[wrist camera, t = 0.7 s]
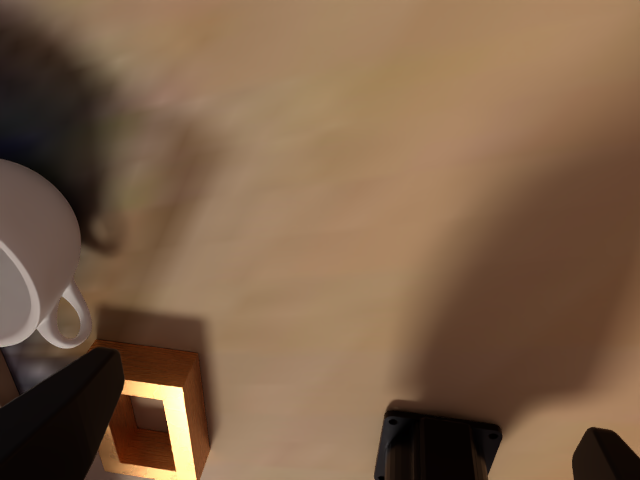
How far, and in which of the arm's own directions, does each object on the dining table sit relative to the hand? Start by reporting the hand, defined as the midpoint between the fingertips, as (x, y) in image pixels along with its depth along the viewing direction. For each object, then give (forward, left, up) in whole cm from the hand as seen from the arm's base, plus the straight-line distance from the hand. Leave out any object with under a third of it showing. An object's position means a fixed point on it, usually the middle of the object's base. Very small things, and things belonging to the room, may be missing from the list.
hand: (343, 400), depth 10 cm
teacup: (-6, +16, -13) cm, 21 cm away
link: (-18, +12, -13) cm, 25 cm away
